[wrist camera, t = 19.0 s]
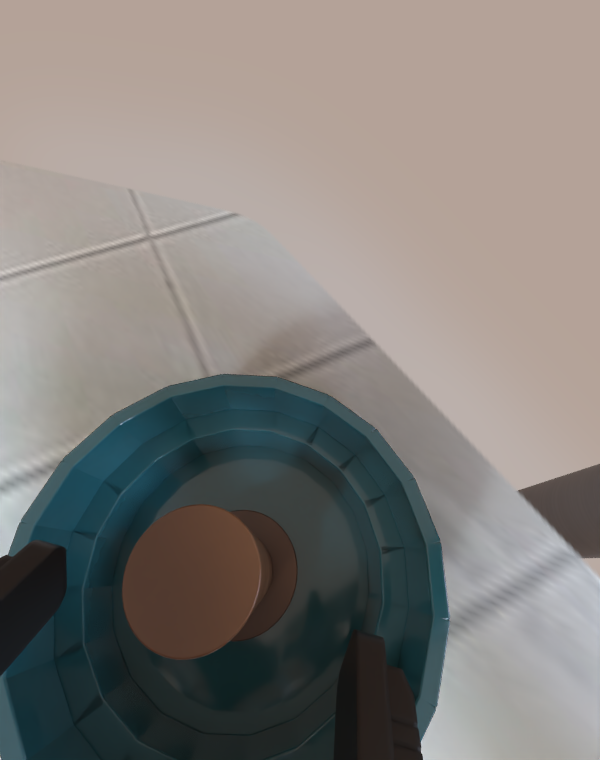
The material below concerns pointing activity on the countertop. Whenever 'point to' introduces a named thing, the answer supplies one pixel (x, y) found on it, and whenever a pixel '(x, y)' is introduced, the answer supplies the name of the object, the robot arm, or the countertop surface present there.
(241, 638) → the brown wooden peg
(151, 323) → the countertop surface
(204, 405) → the bowl
